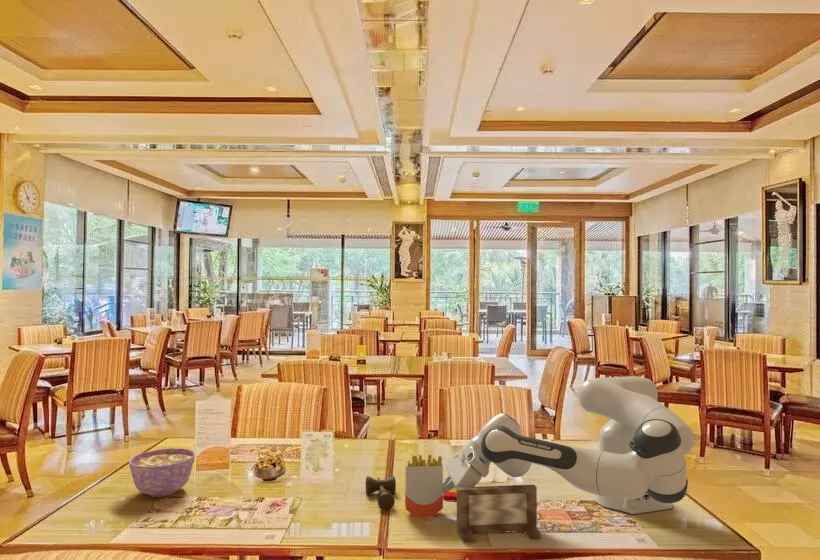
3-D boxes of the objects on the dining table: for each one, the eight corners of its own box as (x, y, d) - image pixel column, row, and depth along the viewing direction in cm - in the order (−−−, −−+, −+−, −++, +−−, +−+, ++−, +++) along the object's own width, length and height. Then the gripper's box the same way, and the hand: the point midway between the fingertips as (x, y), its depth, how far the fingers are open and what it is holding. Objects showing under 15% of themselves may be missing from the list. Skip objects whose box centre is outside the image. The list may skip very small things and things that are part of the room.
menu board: (534, 527, 152) (534, 484, 153) (542, 539, 145) (542, 493, 146) (456, 531, 150) (456, 487, 150) (461, 543, 143) (461, 497, 143)
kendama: (370, 513, 164) (363, 487, 183) (402, 511, 165) (391, 486, 185) (371, 493, 164) (364, 469, 183) (402, 492, 165) (392, 468, 185)
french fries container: (404, 511, 163) (404, 451, 164) (440, 510, 164) (440, 450, 165) (406, 518, 159) (405, 456, 159) (442, 516, 160) (442, 455, 160)
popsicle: (442, 501, 172) (442, 495, 172) (445, 484, 187) (445, 479, 187) (460, 502, 172) (460, 496, 172) (461, 485, 186) (461, 480, 186)
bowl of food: (155, 479, 191) (155, 446, 191) (207, 483, 187) (207, 449, 187) (113, 501, 171) (114, 464, 172) (170, 506, 167) (170, 468, 167)
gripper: (460, 440, 173) (430, 471, 172) (474, 460, 153) (439, 496, 152) (474, 453, 174) (444, 485, 173) (490, 476, 153) (455, 512, 152)
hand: (442, 490), depth 162 cm, fingers closed, pressing on french fries container
